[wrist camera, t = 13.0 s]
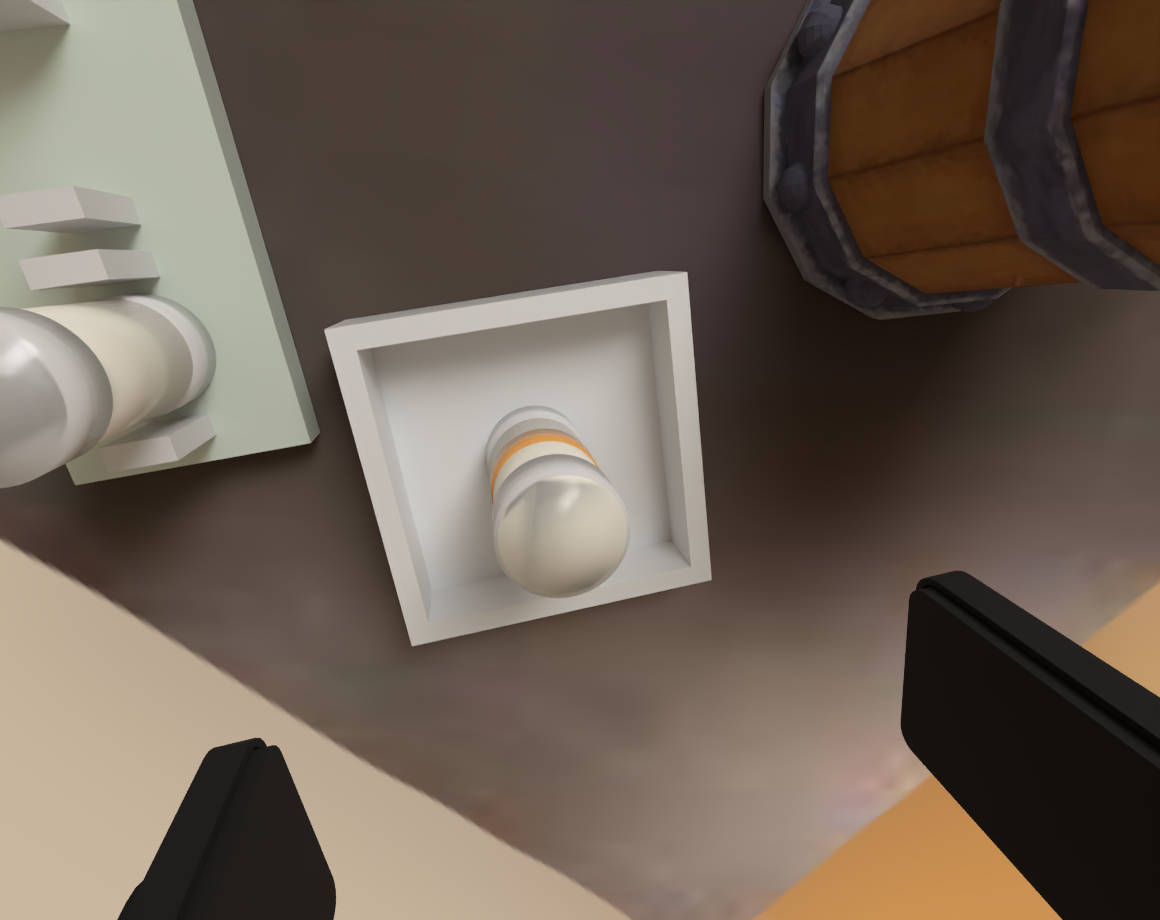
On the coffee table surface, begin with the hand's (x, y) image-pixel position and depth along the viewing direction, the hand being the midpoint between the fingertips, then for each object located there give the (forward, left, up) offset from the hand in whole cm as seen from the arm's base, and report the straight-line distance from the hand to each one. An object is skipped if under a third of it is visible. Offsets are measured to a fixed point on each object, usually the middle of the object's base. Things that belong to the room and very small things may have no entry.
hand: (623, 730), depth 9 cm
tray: (+1, 0, -17) cm, 17 cm away
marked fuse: (+1, 0, -16) cm, 16 cm away
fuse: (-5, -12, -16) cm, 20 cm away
